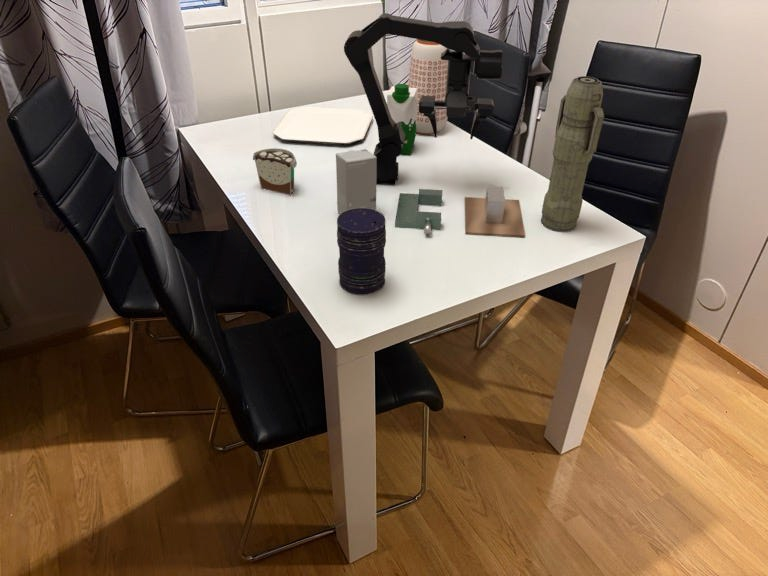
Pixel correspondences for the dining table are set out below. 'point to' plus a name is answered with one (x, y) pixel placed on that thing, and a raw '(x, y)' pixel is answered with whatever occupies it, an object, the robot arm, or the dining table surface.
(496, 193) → the steel bar
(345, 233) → the storage jar
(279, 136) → the plate
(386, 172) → the robot arm
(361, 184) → the skincare box
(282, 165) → the food container
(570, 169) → the thermos
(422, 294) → the dining table surface
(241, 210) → the dining table surface
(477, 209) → the walnut mat
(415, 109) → the milk carton
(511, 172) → the dining table surface
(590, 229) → the dining table surface
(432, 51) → the planter
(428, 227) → the green base
